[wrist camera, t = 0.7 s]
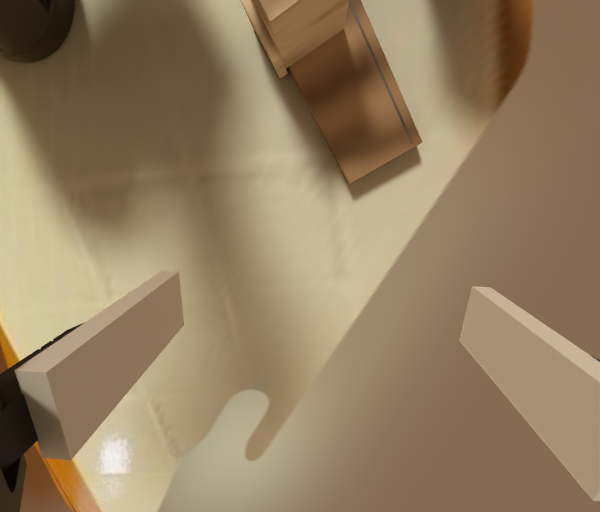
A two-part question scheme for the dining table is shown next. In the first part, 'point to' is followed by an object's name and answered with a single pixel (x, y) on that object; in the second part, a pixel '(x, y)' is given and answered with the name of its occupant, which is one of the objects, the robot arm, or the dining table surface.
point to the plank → (356, 98)
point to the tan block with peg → (294, 26)
